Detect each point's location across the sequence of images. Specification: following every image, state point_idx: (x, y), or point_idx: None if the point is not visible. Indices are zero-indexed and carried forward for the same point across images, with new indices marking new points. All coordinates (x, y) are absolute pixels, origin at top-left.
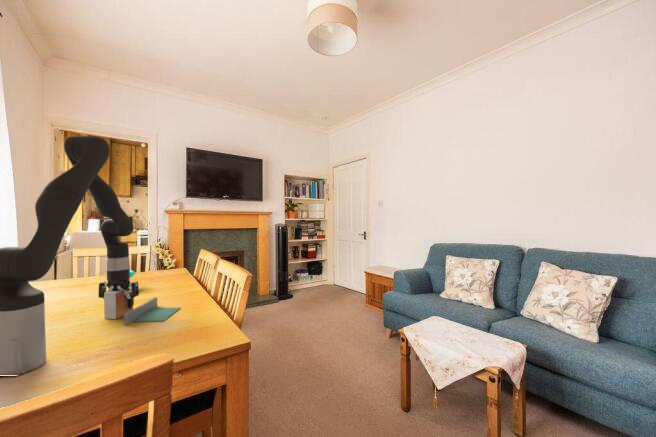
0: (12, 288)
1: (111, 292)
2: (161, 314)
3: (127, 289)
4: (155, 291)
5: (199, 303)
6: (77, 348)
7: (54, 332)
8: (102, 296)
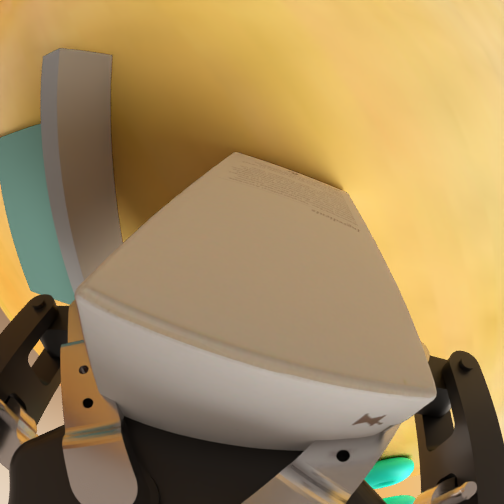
0: None
1: (241, 385)
2: (29, 214)
3: None
4: None
5: None
6: None
7: (494, 23)
8: (440, 371)
